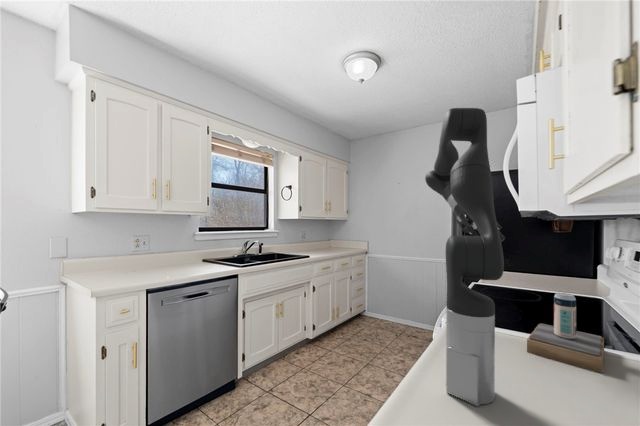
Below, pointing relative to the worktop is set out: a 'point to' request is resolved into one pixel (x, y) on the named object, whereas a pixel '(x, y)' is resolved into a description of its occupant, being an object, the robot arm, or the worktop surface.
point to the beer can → (565, 315)
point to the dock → (568, 347)
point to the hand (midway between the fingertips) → (492, 240)
